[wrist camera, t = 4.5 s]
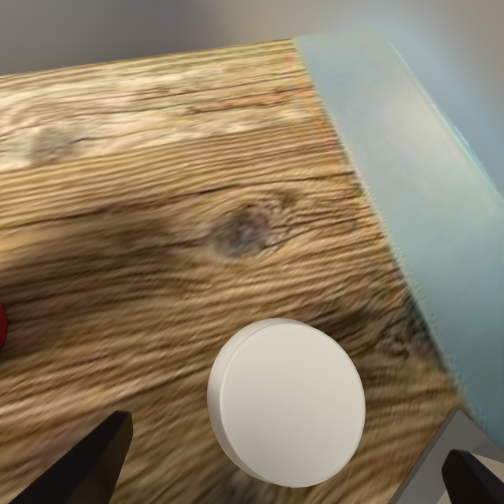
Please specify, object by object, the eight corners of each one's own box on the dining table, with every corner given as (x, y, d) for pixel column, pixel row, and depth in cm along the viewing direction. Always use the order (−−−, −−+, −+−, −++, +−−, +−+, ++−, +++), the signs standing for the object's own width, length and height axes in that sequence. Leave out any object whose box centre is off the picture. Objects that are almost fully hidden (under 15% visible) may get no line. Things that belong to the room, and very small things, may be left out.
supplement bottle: (230, 333, 18) (212, 287, 9) (315, 344, 17) (387, 309, 8) (214, 433, 15) (168, 508, 6) (312, 448, 15) (403, 547, 6)
